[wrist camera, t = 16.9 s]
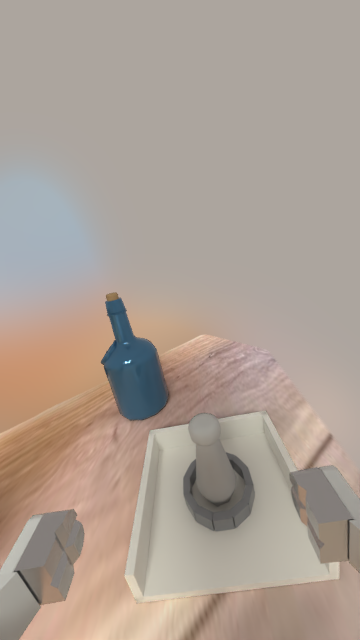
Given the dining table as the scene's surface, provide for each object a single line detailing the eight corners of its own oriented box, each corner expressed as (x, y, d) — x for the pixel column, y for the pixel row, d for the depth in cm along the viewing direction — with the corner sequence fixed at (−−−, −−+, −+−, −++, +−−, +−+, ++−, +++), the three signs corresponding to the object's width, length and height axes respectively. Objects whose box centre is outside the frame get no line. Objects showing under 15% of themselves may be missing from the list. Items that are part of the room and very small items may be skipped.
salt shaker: (223, 466, 37) (210, 400, 33) (247, 496, 32) (234, 423, 28) (192, 485, 35) (174, 418, 31) (212, 522, 30) (193, 446, 26)
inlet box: (339, 579, 24) (339, 548, 22) (136, 603, 25) (124, 575, 24) (268, 432, 43) (265, 410, 41) (156, 450, 44) (149, 430, 43)
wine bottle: (169, 384, 65) (142, 283, 57) (170, 415, 53) (136, 291, 44) (123, 395, 65) (89, 295, 57) (113, 429, 53) (68, 307, 44)
